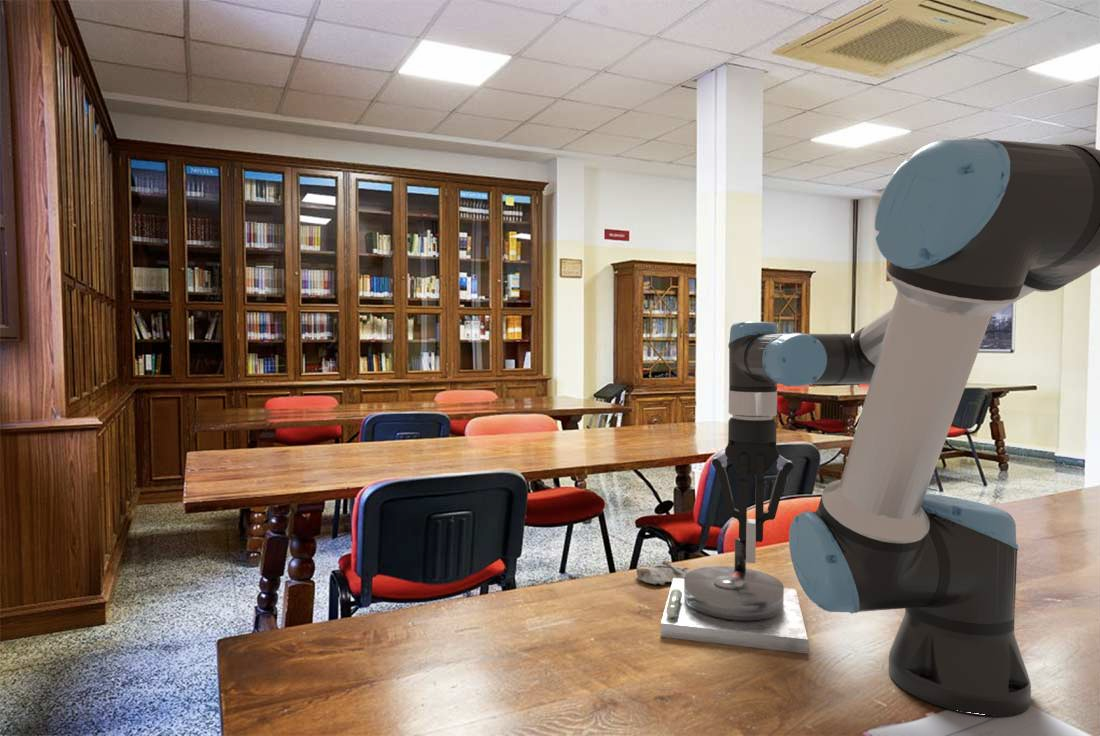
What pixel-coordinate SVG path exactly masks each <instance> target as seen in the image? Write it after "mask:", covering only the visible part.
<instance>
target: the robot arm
mask: <svg viewBox="0 0 1100 736" xmlns="http://www.w3.org/2000/svg"><path fill="white" fill-rule="evenodd" d="M881 193H882V194H881V196H880V199H879V201H878V203H877V208H876V213H875V219H874V229H875V231H877V232H878V234H877V235H876V237H875V241H876V246H877V247H878V249H879V252H880V254H881V255H882V256H883V257H884V259H886V260H887V261H888V266H887V269H886V275H887V277H888V278H889V279H890V282H892V284H893V285H894V287H895V289H896V292H897V293H896V296H895V298H894V299H895V300H894V302H893V303H894V304H893V306H891V307H890V308H888V309H887V310H886V311H884V312H883V313H881V314H880V315H879V316H877V317H876V318H875V319H874V320H872V321H871V322H869V323H868V324H867V325H864V326H863V327H861V328H860V329H859V330H858V331H856V332H853V333H803V332H792V331H791V332H784V333H779V328H778V325H777V324H776V323H775V322H772V321H744V322H743V321H738V322H734V323H733V324H732V325H731V327H730V331H729V342H728V345H727V346H728V368H729V370H728V373H729V375H728V382H729V383H728V387H729V388H728V414H729V415H730V416H732V417H729V419H728V421H727V423H728V430H727V431H728V433H727V434H728V435H727V436H728V439H727V440H728V441H727V444H726V445H727V446H725V449H724V452H723V453H721V454H719V455H717V456H713V458H712V460H711V465H712V466H713V468H714V469H715V470H716V472H717V474H718V479H719V483H720V486H721V487H720V488H721V492H722V496H723V499H724V504H725V508H726V513H727V515H728V517H730V518H733V519H736V520H737V521H738V538H739V539H740V540H741V541H746V564H756V549H757V548H756V544H757V543H758V542H759V543H762V542H763V540H764V523H765V522H766V521H773V520H775V518H776V515H777V511H778V508H779V504H780V501H781V497H782V493H783V491H784V486H785V484H786V483H785V482H786V479H787V476H789V474H790V473H791V472H792V470H793V468H794V463H793V462H792V460H791V459H786V457H783V456H782V455H781V454H780V450H779V448H778V445H777V434H778V433H777V427H778V426H777V423H778V422H777V420H776V419H775V418H774V417H775V416H777V414H778V385H782V386H785V387H803V386H809V385H869V386H868V389H867V392H866V394H865V395H866V396H865V399H864V402H863V405H862V409H861V411H860V412H861V413H860V416H859V418H858V422H857V425H856V428H855V432H854V435H853V439H852V441H851V442H852V443H851V445H850V449H849V450H848V451H849V452H848V455H847V458H846V462H845V465H844V469H843V472H842V475H841V479H838V480H834V481H832V482H830V483H828V484H827V485H826V486H825V487H824V489H823V490H822V494H821V497H820V501H819V504H818V506H817V509H816V510H815V511H810V510H805V511H804V512H801V513H799V514H796V515H795V516H794V518H793V519H792V521H791V523H790V527H789V531H788V532H789V533H788V545H789V553H790V559H791V563H792V566H793V570H794V573H795V575H796V578H797V580H798V583H799V585H800V587H801V588H802V591H803V592H804V594H805V595H806V596H807V597H808V599H809V600H810V602H811V603H813V604H814V605H815V606H816V607H818V608H819V609H821V610H823V611H825V612H829V613H850V614H854V613H855V614H857V613H862V612H876V611H889V610H899V609H901V610H902V609H904V615H903V618H902V620H901V622H900V625H899V628H898V630H897V633H896V635H895V638H894V640H893V642H892V644H891V647H890V650H889V654H888V673H889V676H890V678H891V680H892V681H893V682H894V683H895V684H896V685H897V686H898V687H900V688H901V689H903V690H904V691H906V692H907V693H909V694H910V695H911V696H914V697H916V698H918V699H920V700H922V701H924V702H927V703H929V704H932V705H934V706H937V707H941V708H944V709H948V710H951V711H954V710H958V711H962V712H961V713H963V712H971V713H979V714H985V715H995V716H994V717H1008V716H1014V715H1015V716H1016V715H1019V714H1021V713H1024V712H1025V711H1026V710H1028V709H1029V707H1030V706H1031V701H1032V696H1031V695H1032V689H1031V688H1032V685H1031V680H1030V677H1029V673H1028V671H1027V668H1026V665H1025V662H1024V658H1023V656H1022V652H1021V650H1020V648H1019V645H1018V642H1017V641H1018V640H1017V639H1016V635H1015V634H1016V633H1015V615H1016V614H1015V612H1016V611H1015V609H1016V588H1017V567H1018V566H1017V564H1018V563H1017V562H1018V551H1019V545H1018V544H1017V524H1016V521H1015V519H1014V518H1013V517H1012V514H1010V513H1008V512H1007V511H1005V510H1004V509H1001V508H1000V507H996V506H993V505H989V504H985V503H981V502H979V501H978V502H977V501H974V500H968V499H964V498H958V497H953V496H948V495H947V496H946V495H942V494H933V493H927V491H928V488H929V485H930V482H931V480H932V478H933V475H934V472H935V469H936V466H937V465H938V462H939V459H940V456H941V453H942V450H943V449H944V444H945V443H946V439H947V437H948V434H949V431H950V429H951V426H952V423H953V421H954V419H955V415H956V413H957V411H958V408H959V405H960V402H961V399H962V397H963V394H964V391H965V389H966V386H967V383H968V380H969V378H970V375H971V372H972V370H973V367H974V364H975V363H976V362H975V361H976V359H977V357H978V353H979V351H980V348H981V345H982V343H983V339H984V337H985V335H986V332H987V329H988V326H989V324H990V321H991V318H992V317H993V315H995V314H996V313H998V312H1000V311H1002V310H1003V309H1005V308H1007V307H1009V306H1010V305H1012V304H1014V303H1016V302H1017V301H1019V300H1021V299H1023V298H1025V297H1026V296H1028V295H1031V294H1032V293H1033V292H1040V293H1049V292H1054V291H1057V290H1059V289H1061V288H1063V287H1064V286H1067V285H1068V284H1071V283H1072V282H1074V281H1076V280H1079V278H1081V277H1083V276H1085V275H1086V274H1088V273H1090V272H1091V271H1093V270H1095V269H1096V268H1097V267H1099V266H1100V149H1097V148H1095V147H1091V146H1087V145H1081V144H1071V143H1069V144H1068V143H1066V144H1064V143H1063V144H1052V143H1051V144H1050V143H1040V142H1039V143H1037V142H1025V141H1013V140H1012V141H1010V140H1000V139H999V140H998V139H997V140H996V139H995V140H994V139H990V138H987V137H984V138H977V137H972V138H967V139H966V138H965V139H961V138H960V139H943V140H938V141H935V142H931V143H929V144H927V145H924V146H923V147H921V148H919V149H918V150H916V151H915V152H914V153H913V154H912V155H911V156H910V157H908V158H906V159H905V160H904V161H902V162H901V164H899V166H898V167H897V169H896V170H895V171H894V173H893V174H892V175H891V177H889V180H888V182H887V183H886V185H885V187H884V189H883V192H881ZM727 460H729V462H730V463H731V465H732V466H733V467H734V469H735V470H736V471H737V472H738V473H739V490H738V493H739V496H738V497H739V498H738V499H739V502H738V508H736V507H735V503H734V498H733V494H732V489H731V485H730V481H729V478H728V477H729V476H728V473H727V469H726V468H727V466H728V462H727ZM776 462H777V464H776V469H777V470H778V471H777V473H776V478H775V481H774V485H773V489H772V492H771V496H770V499H769V503H768V507H767V510H765V511H764V508H765V507H764V501H765V499H764V497H765V496H764V495H765V494H764V493H765V490H764V489H765V485H764V484H765V474H766V473H768V472H769V470H770V469H771V468H772V467H773V465H774V464H775V463H776ZM750 474H752V475H755V510H754V511H755V518H747V517H748V515H747V514H748V513H747V512H748V475H750ZM958 711H957V712H958Z"/></svg>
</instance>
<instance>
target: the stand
mask: <svg viewBox="0 0 1100 736" xmlns="http://www.w3.org/2000/svg"><path fill="white" fill-rule="evenodd" d="M666 599H667V600H666V602H665V607H664V610H663V614H662V618H661V622H660V637H661V638H668V639H675V640H676V639H678V640H684V641H685V640H686V641H693V642H703V643H710V644H719V645H727V646H729V645H730V646H736V647H746V648H752V649H753V648H755V649H763V650H770V651H778V652H779V651H780V652H787V653H795V654H796V653H797V654H804V655H805V654H806V655H808V654H809V653H808V651H809V638H808V633H807V629H806V626H805V622H804V618H803V614H802V609H801V606H800V601H799V597H798V592H797V589H796V588H790V587H789V588H787V587H784V607H783V610H782V612H781V613H779V614H778V615H776V616H773V617H770V618H766V619H759V620H734V619H726V618H721V617H716V616H712V615H708V614H705V613H703V612H700V611H698V610H696V609H694V608H692V607H691V606H689V605H688V604H687V603H686V601H685V600H684V579H681V578H673V581H672V582H671V585H670V588H669V593H668V596H667V598H666Z"/></svg>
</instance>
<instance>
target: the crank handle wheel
mask: <svg viewBox="0 0 1100 736" xmlns="http://www.w3.org/2000/svg"><path fill="white" fill-rule="evenodd" d="M784 588H785V586H784V584H783V583H782V581H780V580H779V578H776V577H775V576H772V575H771V574H768V573H765V572H762V571H759V570H755V569H752V568H751V569H750V568H747V563H746V541H741V540H740V539H739V537H735V538H734V566H730V565H729V566H727V565H726V566H723V565H720V566H717V565H715V566H713V565H712V566H704V567H700V568H699V567H698V568H695V569H692V570H690V572H688V573H687V574H686V575H685V577H684V600H685V601H686V603H687V604H688V605H689V606H691V607H692V608H694V609H696V610H698V611H700V612H703V613H705V614H708V615H712V616H716V617H721V618H726V619H734V620H759V619H766V618H770V617H773V616H776V615H778V614H779V613H781V612H782V610H783V607H784Z"/></svg>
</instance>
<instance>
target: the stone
mask: <svg viewBox="0 0 1100 736" xmlns="http://www.w3.org/2000/svg"><path fill="white" fill-rule="evenodd" d="M649 567H650V568H649ZM643 568H645V569H643ZM690 571H691V569H690V568H689V567H684V566H680V565H676V564H670V563H668V562H666V560H663V561H662V562H659V563H656V564H653V565H650V566H639V567H638V568H637V569H636V576H637V579H638V581H640V582H644V583H647V584H653V585H654V586H656V585H660V586H663V585H666V583H672V581H673V578H681V579H684V577H685V575H686V574H687V573H688V572H690Z"/></svg>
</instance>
